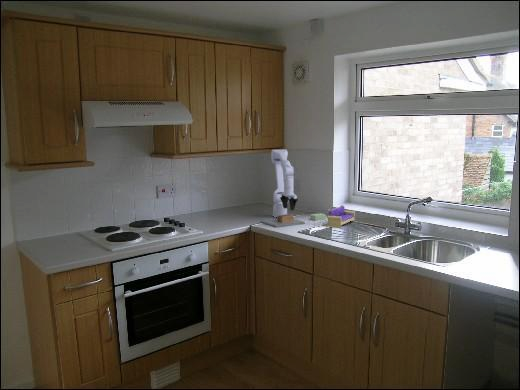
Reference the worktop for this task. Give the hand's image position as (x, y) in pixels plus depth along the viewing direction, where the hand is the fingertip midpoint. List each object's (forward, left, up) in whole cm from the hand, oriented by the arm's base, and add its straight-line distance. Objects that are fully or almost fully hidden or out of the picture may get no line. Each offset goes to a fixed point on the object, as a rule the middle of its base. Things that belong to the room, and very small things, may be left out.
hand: (288, 209), depth 275 cm
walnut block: (0, -2, -7) cm, 8 cm away
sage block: (+2, +21, -9) cm, 23 cm away
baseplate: (-1, -4, -8) cm, 9 cm away
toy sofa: (+21, +23, -9) cm, 33 cm away
